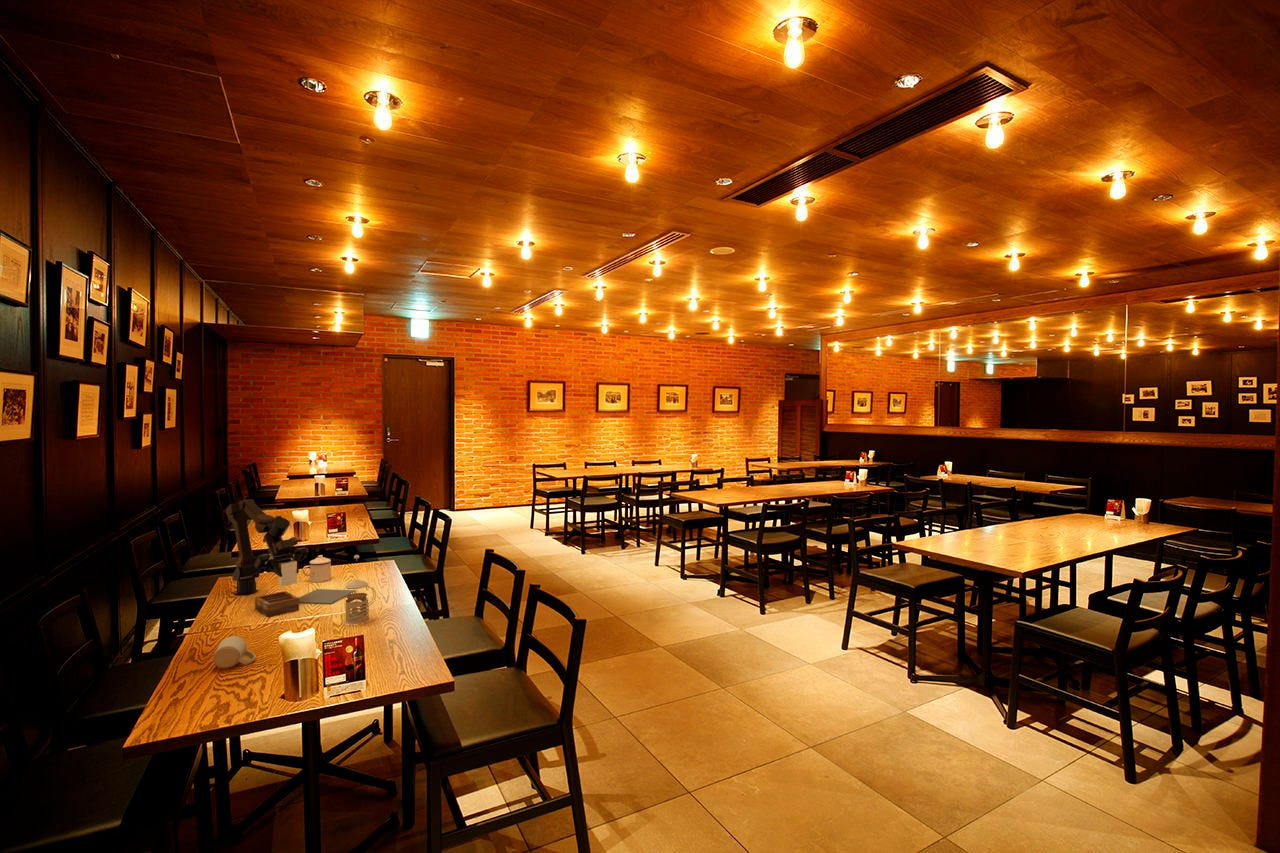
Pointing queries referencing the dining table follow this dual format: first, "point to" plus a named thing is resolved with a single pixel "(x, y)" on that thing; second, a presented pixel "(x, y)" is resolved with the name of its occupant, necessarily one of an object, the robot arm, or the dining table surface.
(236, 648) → the ceramic mug
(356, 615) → the french press
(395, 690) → the dining table surface
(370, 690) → the dining table surface
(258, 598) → the slot box
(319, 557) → the teacup with lid
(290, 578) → the wooden block
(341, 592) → the rubber mat
